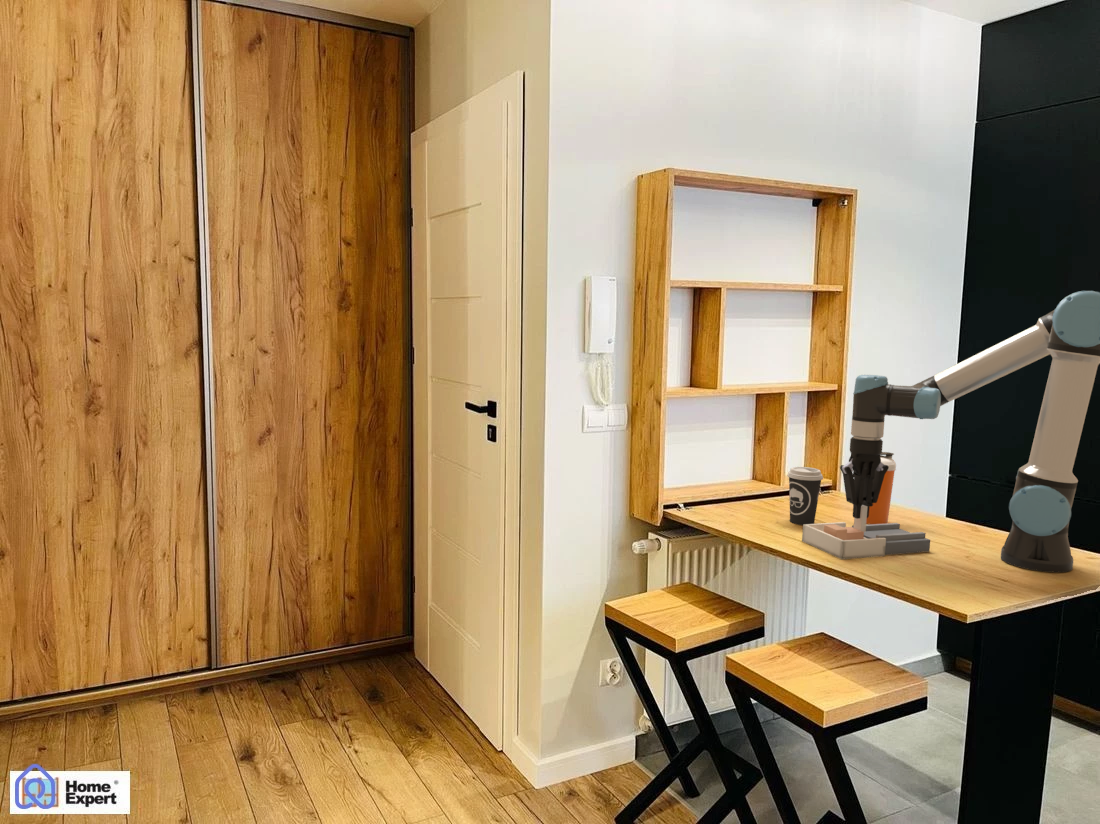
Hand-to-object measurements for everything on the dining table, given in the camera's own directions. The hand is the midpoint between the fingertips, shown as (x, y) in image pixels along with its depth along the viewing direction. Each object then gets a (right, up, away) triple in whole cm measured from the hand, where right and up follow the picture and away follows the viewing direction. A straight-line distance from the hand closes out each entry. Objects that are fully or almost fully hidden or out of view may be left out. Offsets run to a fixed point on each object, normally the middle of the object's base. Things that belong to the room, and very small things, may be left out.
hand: (859, 530), depth 213 cm
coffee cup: (-7, -1, +24) cm, 25 cm away
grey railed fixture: (+8, -4, +3) cm, 10 cm away
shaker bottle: (+14, -2, +27) cm, 31 cm away
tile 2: (-3, -3, -1) cm, 4 cm away
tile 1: (-5, -1, -2) cm, 6 cm away
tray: (-5, -4, -1) cm, 6 cm away
